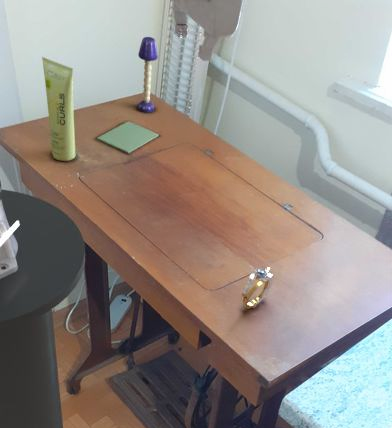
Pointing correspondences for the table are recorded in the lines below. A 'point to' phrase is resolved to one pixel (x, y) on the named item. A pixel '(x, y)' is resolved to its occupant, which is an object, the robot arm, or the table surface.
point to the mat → (128, 137)
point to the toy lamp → (147, 71)
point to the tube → (60, 108)
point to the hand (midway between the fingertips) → (192, 47)
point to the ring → (267, 286)
